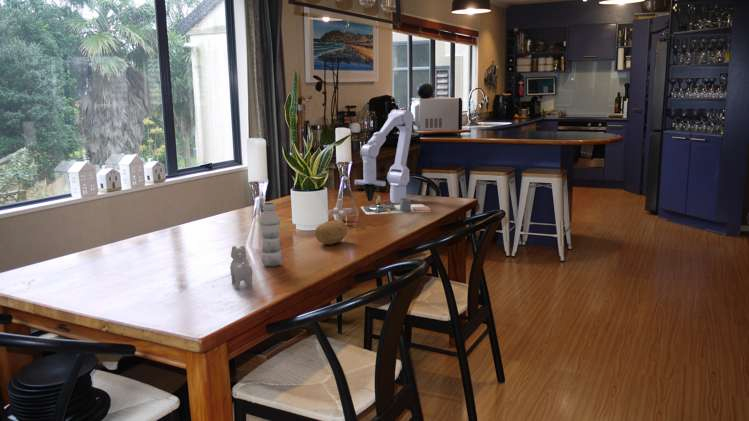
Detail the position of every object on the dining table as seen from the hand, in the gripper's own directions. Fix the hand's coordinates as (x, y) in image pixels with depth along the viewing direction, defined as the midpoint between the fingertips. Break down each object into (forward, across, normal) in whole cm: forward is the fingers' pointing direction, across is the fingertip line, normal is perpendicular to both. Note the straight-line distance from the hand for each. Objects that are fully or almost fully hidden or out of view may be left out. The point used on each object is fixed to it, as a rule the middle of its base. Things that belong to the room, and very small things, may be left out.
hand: (370, 200), depth 280 cm
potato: (+4, +12, -61) cm, 62 cm away
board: (+4, +12, +1) cm, 13 cm away
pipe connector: (+4, 0, -30) cm, 30 cm away
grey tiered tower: (+4, +8, -92) cm, 92 cm away
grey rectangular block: (+3, +18, -2) cm, 18 cm away
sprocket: (+3, +6, -3) cm, 8 cm away
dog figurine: (+4, +10, -111) cm, 111 cm away
